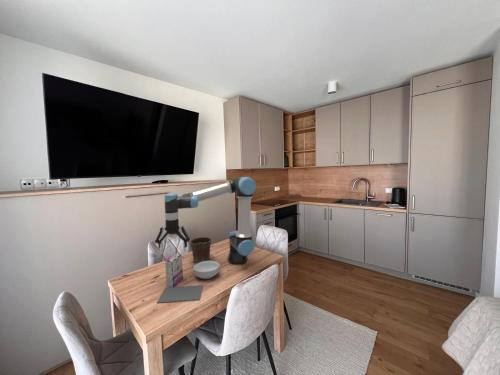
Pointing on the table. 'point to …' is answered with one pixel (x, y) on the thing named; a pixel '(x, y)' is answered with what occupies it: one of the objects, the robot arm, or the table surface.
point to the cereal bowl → (206, 269)
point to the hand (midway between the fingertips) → (173, 253)
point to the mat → (180, 294)
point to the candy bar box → (174, 270)
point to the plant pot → (201, 249)
